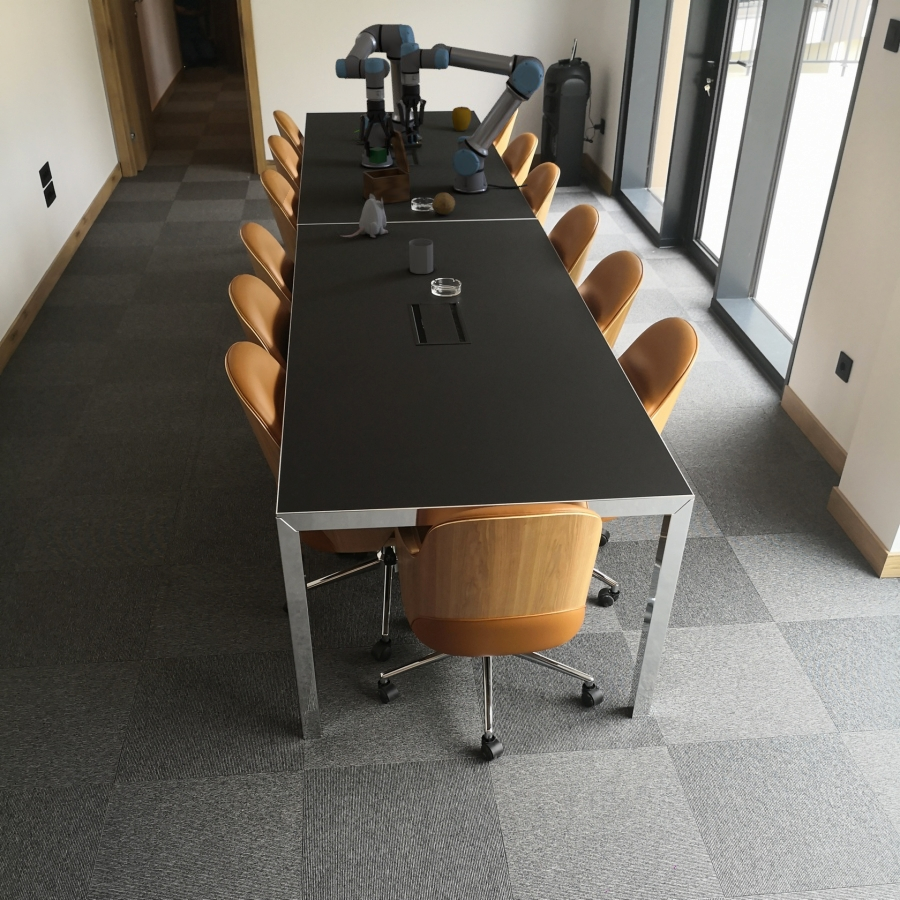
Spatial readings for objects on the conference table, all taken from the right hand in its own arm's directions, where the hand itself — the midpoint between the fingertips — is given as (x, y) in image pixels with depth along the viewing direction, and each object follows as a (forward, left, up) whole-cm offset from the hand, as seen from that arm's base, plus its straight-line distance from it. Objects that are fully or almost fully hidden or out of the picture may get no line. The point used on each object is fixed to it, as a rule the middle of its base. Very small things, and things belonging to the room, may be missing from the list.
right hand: (412, 142), depth 372 cm
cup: (+28, +87, -23) cm, 94 cm away
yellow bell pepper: (-68, -108, -23) cm, 130 cm away
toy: (+37, +46, -23) cm, 64 cm away
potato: (-3, +29, -23) cm, 37 cm away
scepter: (-17, -100, -23) cm, 103 cm away
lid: (+7, 0, -3) cm, 7 cm away
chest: (+13, 0, -23) cm, 26 cm away
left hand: (+16, +1, -4) cm, 17 cm away
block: (+16, +1, -7) cm, 17 cm away
